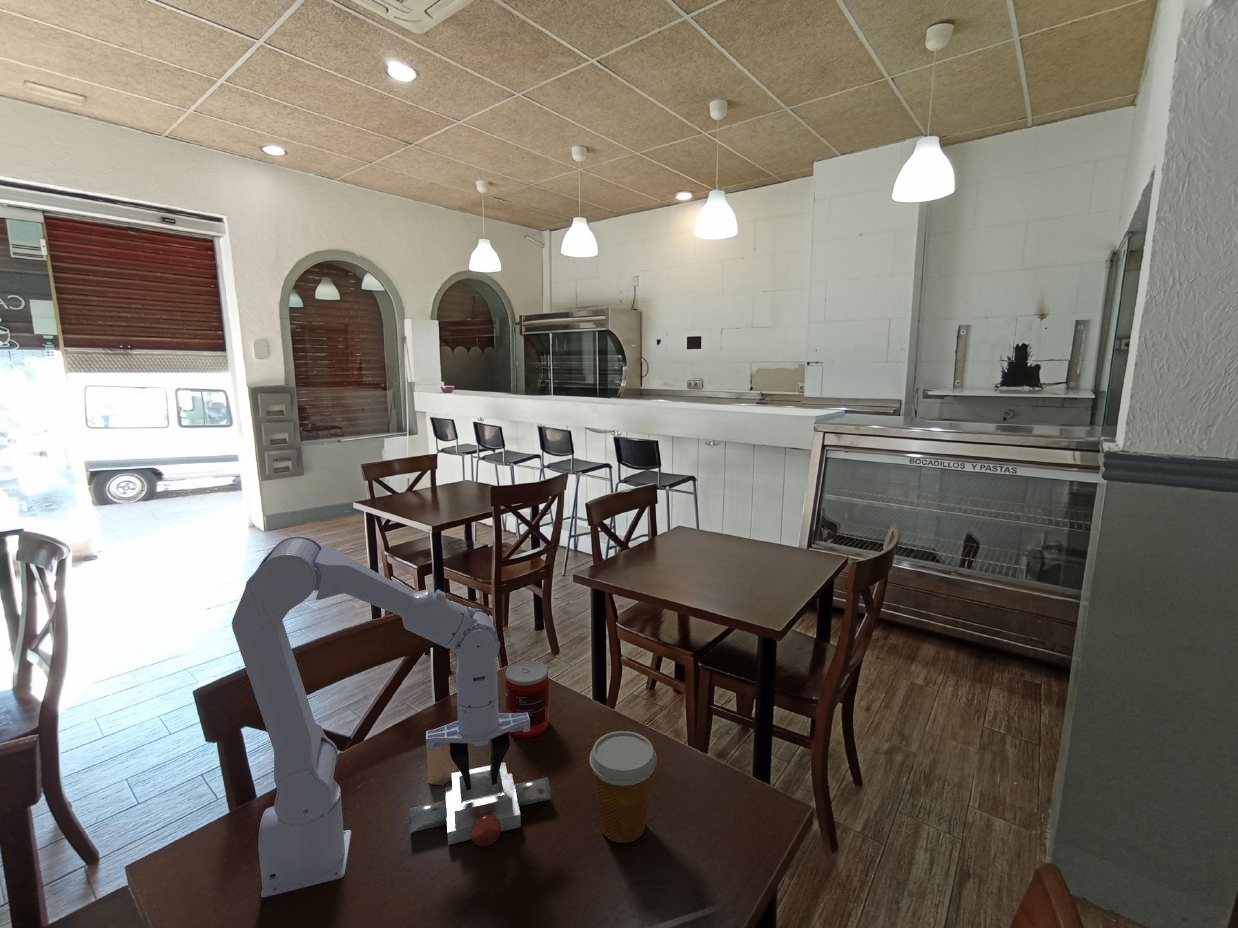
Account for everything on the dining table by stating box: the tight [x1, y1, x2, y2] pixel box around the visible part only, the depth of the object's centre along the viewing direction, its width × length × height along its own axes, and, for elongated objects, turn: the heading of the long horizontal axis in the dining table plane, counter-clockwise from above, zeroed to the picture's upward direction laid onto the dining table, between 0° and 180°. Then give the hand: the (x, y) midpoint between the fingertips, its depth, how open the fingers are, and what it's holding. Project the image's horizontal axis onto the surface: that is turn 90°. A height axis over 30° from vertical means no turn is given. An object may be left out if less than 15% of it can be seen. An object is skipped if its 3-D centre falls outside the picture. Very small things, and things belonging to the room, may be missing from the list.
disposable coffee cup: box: [588, 730, 658, 844], centre depth 80 cm, size 10×10×12 cm
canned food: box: [505, 660, 550, 739], centre depth 104 cm, size 8×8×11 cm
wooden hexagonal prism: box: [426, 744, 456, 786], centre depth 91 cm, size 4×5×7 cm
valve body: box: [408, 762, 552, 847], centre depth 82 cm, size 20×11×4 cm, turn 109°
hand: (481, 782), depth 83 cm, fingers open, 3 cm apart
